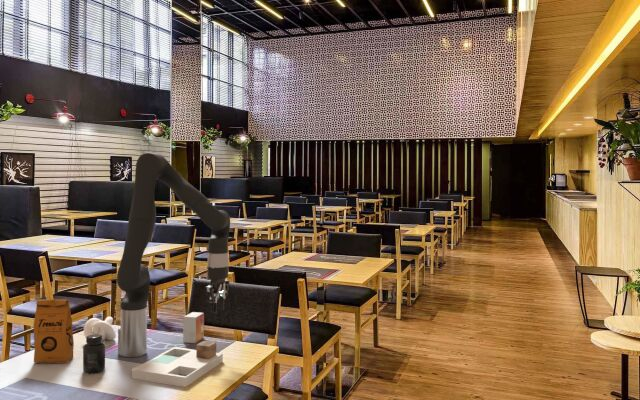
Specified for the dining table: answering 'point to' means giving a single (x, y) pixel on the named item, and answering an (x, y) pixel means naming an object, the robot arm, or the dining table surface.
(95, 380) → the dining table surface
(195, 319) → the small box
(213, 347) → the walnut block
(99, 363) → the supplement bottle
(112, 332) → the white lumpy figure
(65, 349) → the coffee package
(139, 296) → the robot arm
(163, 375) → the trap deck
